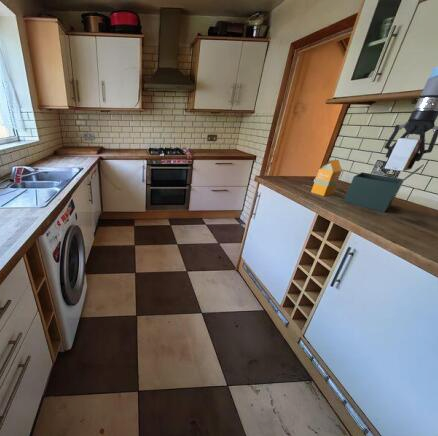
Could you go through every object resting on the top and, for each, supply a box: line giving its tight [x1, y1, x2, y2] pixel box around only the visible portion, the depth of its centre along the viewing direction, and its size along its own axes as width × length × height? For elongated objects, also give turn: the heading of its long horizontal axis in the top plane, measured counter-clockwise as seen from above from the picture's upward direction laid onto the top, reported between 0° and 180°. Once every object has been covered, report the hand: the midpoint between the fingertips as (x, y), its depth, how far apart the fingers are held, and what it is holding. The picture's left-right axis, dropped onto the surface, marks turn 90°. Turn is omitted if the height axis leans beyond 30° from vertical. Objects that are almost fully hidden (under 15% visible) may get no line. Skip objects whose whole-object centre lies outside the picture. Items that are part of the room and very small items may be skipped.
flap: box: [400, 164, 424, 183], centre depth 108 cm, size 8×16×1 cm
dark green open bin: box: [342, 171, 404, 213], centre depth 121 cm, size 17×16×14 cm
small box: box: [384, 137, 422, 172], centre depth 99 cm, size 8×6×13 cm
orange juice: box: [310, 159, 343, 197], centre depth 134 cm, size 8×9×20 cm
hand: (397, 166), depth 101 cm, fingers closed on small box, 7 cm apart
